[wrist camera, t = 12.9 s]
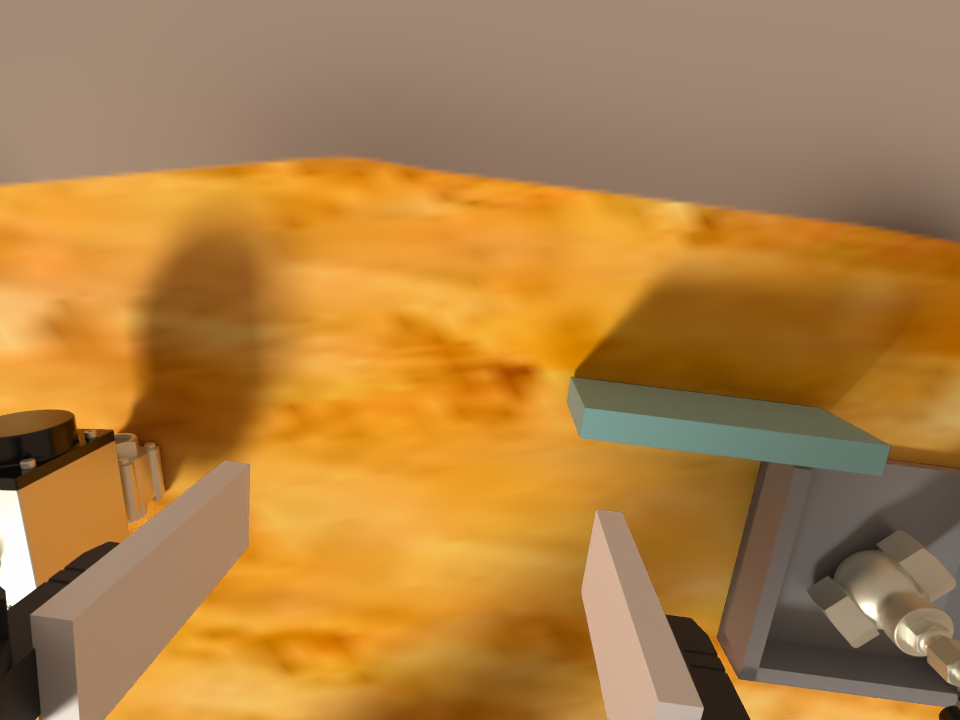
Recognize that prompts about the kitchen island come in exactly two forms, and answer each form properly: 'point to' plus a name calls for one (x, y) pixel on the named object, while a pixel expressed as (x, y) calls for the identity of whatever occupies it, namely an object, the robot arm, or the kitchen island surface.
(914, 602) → the valve
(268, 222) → the kitchen island surface
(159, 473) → the pneumatic valve
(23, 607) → the robot arm
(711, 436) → the gate
